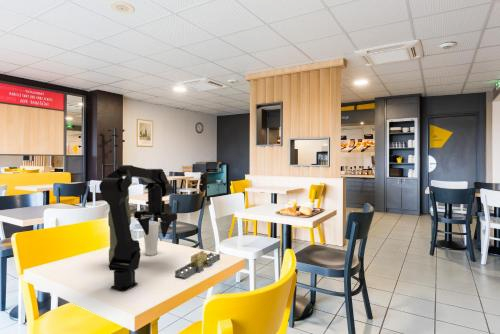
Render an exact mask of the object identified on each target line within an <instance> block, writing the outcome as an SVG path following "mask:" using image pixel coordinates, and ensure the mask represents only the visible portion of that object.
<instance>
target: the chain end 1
mask: <svg viewBox="0 0 500 334" xmlns="http://www.w3.org/2000/svg"><path fill="white" fill-rule="evenodd" d="M204 268H205V267H204V265H201V266H199V267H197V266H195V267H191V262H189V263H188V264H185V265H184V266H182V267H180V268H179V269H176V270H175V271H174V277H175V278H183V280H186V279H188V278H190V277H191V276H193V275H195V274H196V273H198V274H199V273H202V272H203V271H204Z"/></svg>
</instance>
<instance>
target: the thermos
mask: <svg viewBox="0 0 500 334" xmlns="http://www.w3.org/2000/svg"><path fill="white" fill-rule="evenodd" d="M125 205H126V210H127V216H128V221H129V226H130V227H131V223H132V216H131V215H132V214H131V213H132V211H131V208H130V189H129V188H128V195H127V197H126V200H125ZM107 213H108V215H107V216H108V217H107V219H108V220H107V221H108V223H107V224H108V227H109V249H108V262H109V263H110V262H111V260H112V258H113V256H114V248H115V246H116V244H117V239H116V235H115V230H114V225H113V220H112V216H111V211H110V208H109V210H108V212H107ZM120 265H129V264H124V263H120Z"/></svg>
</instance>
